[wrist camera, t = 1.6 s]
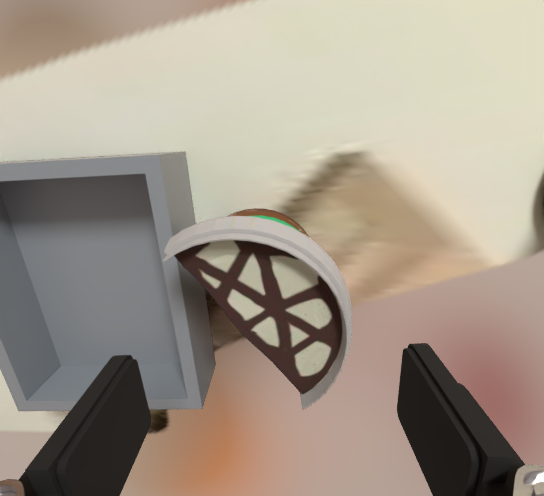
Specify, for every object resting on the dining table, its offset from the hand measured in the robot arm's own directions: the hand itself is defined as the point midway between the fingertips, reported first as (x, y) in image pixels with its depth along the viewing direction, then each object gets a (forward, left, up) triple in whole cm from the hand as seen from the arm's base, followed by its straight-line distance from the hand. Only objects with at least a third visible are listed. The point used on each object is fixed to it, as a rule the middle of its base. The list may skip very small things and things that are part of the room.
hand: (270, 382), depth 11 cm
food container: (-1, 0, -15) cm, 15 cm away
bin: (+14, +2, -15) cm, 20 cm away
